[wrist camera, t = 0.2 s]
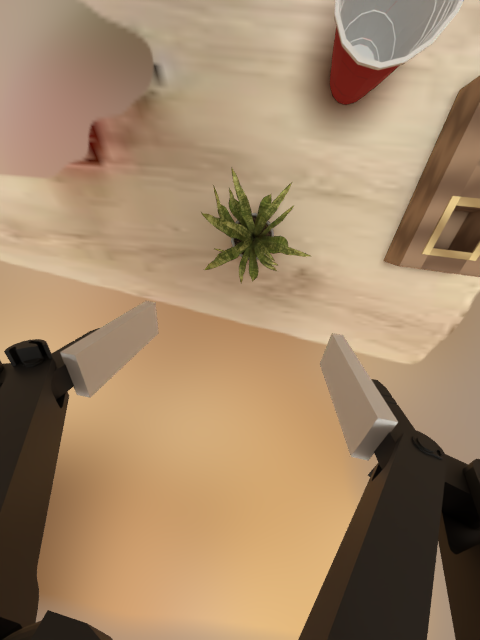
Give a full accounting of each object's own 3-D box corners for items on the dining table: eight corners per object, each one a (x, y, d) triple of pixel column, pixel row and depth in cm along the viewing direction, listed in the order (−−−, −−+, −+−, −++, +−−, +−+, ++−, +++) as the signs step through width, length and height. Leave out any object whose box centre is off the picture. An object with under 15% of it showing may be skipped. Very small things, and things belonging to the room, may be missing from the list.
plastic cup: (415, 7, 23) (539, -182, 12) (378, 128, 28) (443, 68, 17) (322, 9, 24) (362, -163, 13) (302, 125, 29) (320, 67, 18)
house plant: (309, 192, 32) (338, 167, 18) (292, 273, 39) (303, 302, 24) (227, 186, 34) (193, 157, 19) (223, 265, 40) (196, 288, 26)
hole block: (459, 90, 25) (501, 59, 20) (562, 96, 24) (630, 65, 19) (383, 260, 35) (400, 266, 31) (453, 270, 34) (481, 277, 30)
